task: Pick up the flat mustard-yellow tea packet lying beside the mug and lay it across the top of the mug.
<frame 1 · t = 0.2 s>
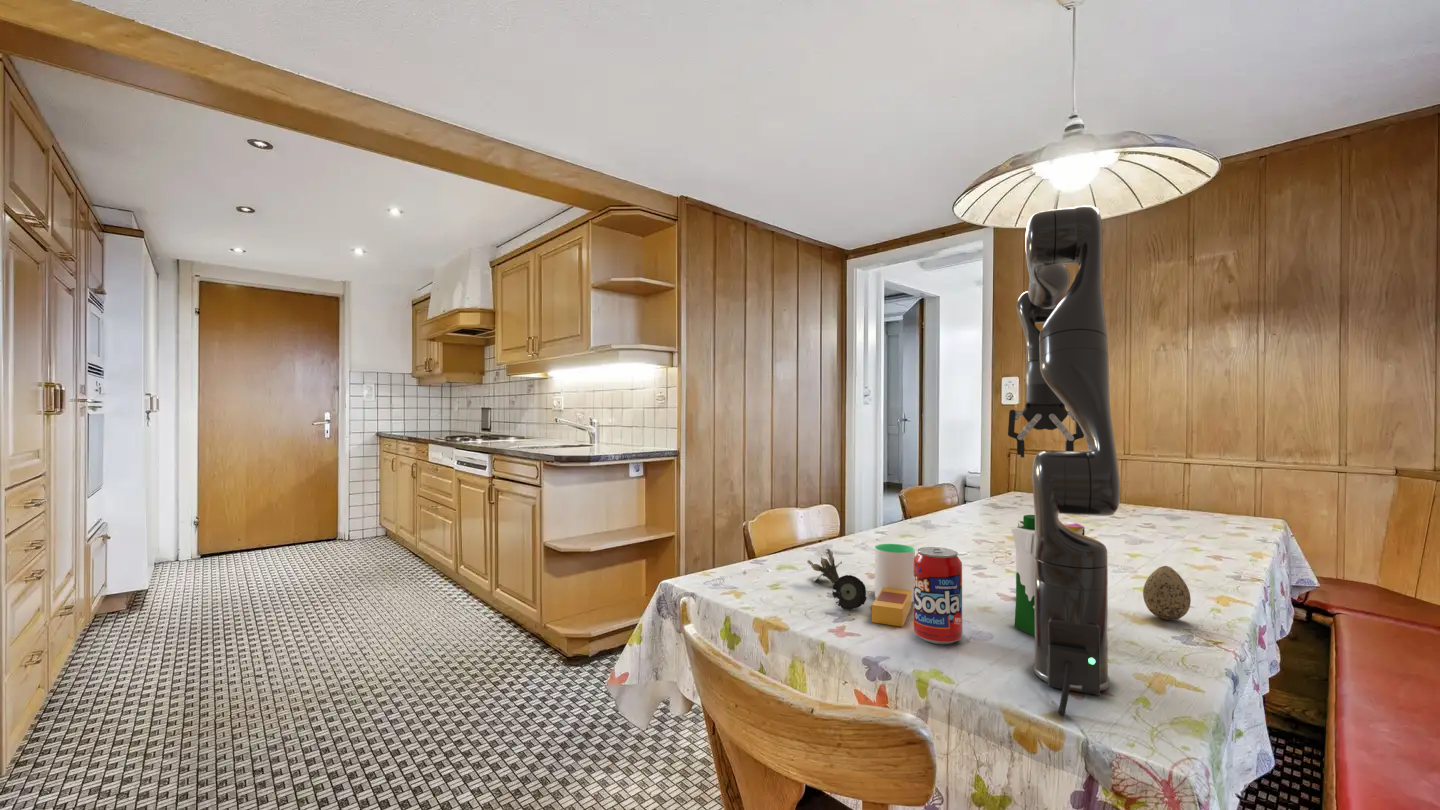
hand: (1044, 458, 127), 29 cm above the table, tool pointing down, fingers open, 8 cm apart
decorative egg: (1166, 620, 111), on the table
soda can: (937, 639, 102), on the table
tea packet: (892, 614, 114), on the table
candy bar box: (1050, 604, 120), on the table
milk carton: (1045, 633, 105), on the table
mug: (891, 596, 126), on the table
dark long pronged piece: (833, 593, 127), on the table
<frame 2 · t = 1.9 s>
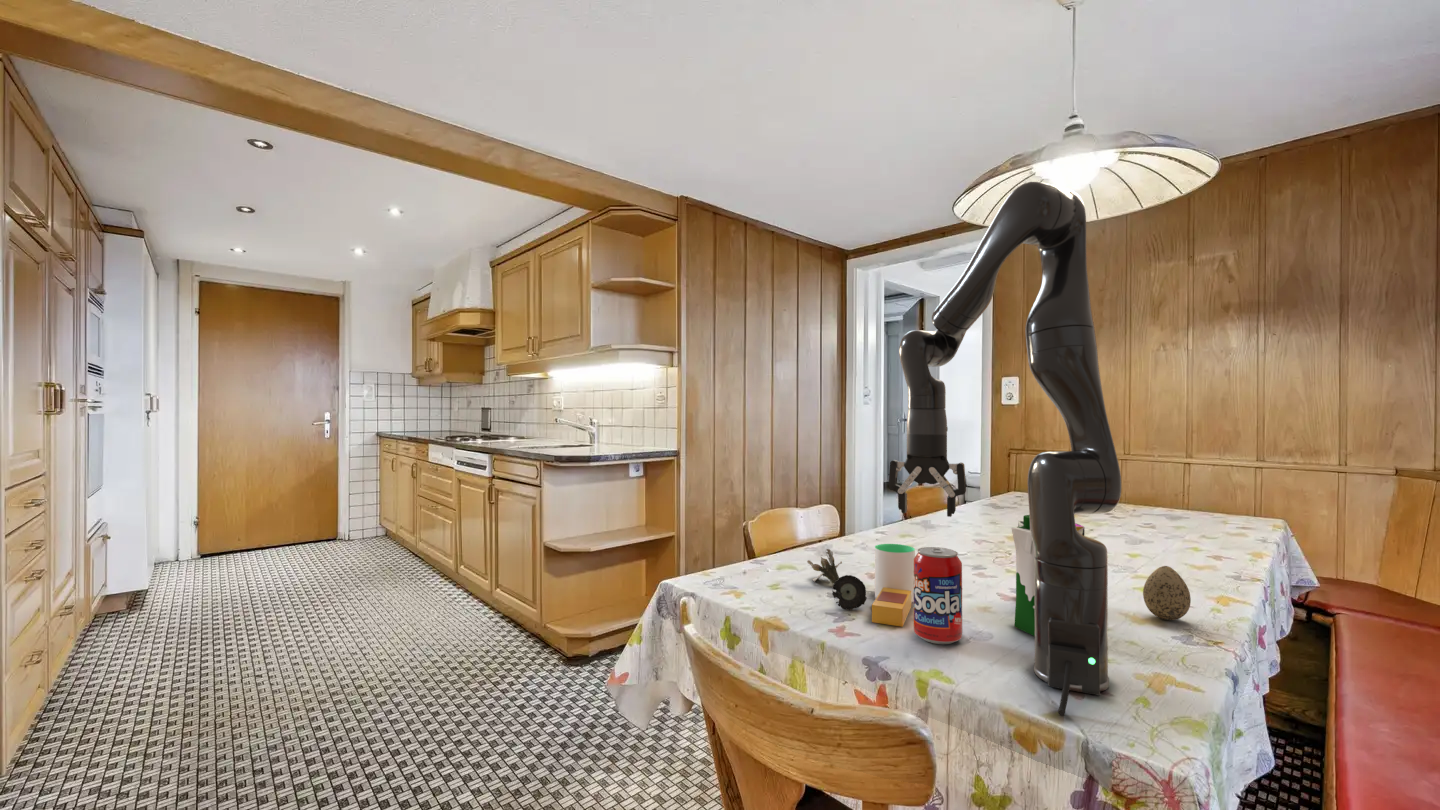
hand: (926, 514, 117), 19 cm above the table, tool pointing down, fingers open, 8 cm apart
nothing on the table moved.
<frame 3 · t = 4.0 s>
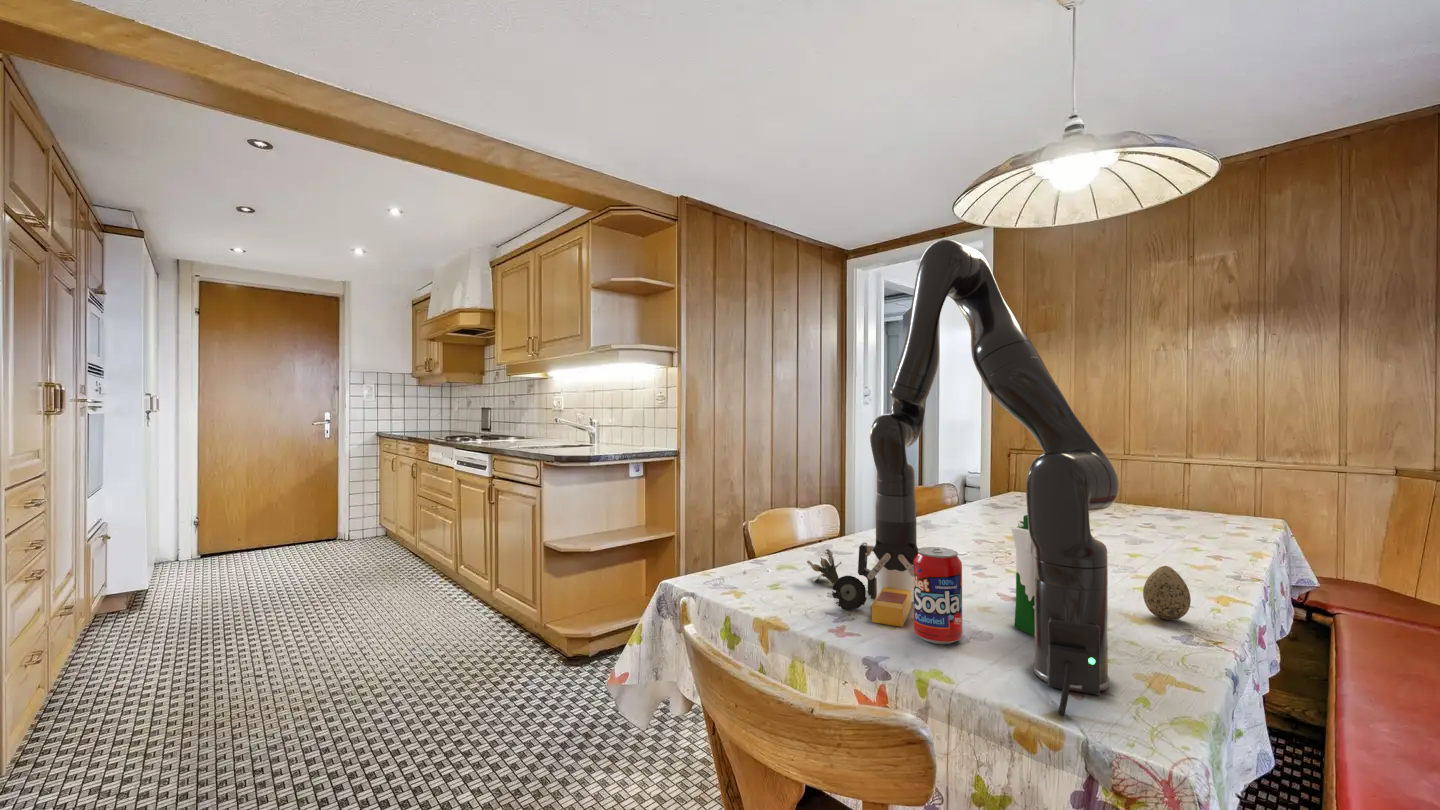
hand: (896, 600, 114), 2 cm above the table, tool pointing down, fingers open, 8 cm apart
dark long pronged piece: (833, 593, 127), on the table, touching gripper
everything else where it was.
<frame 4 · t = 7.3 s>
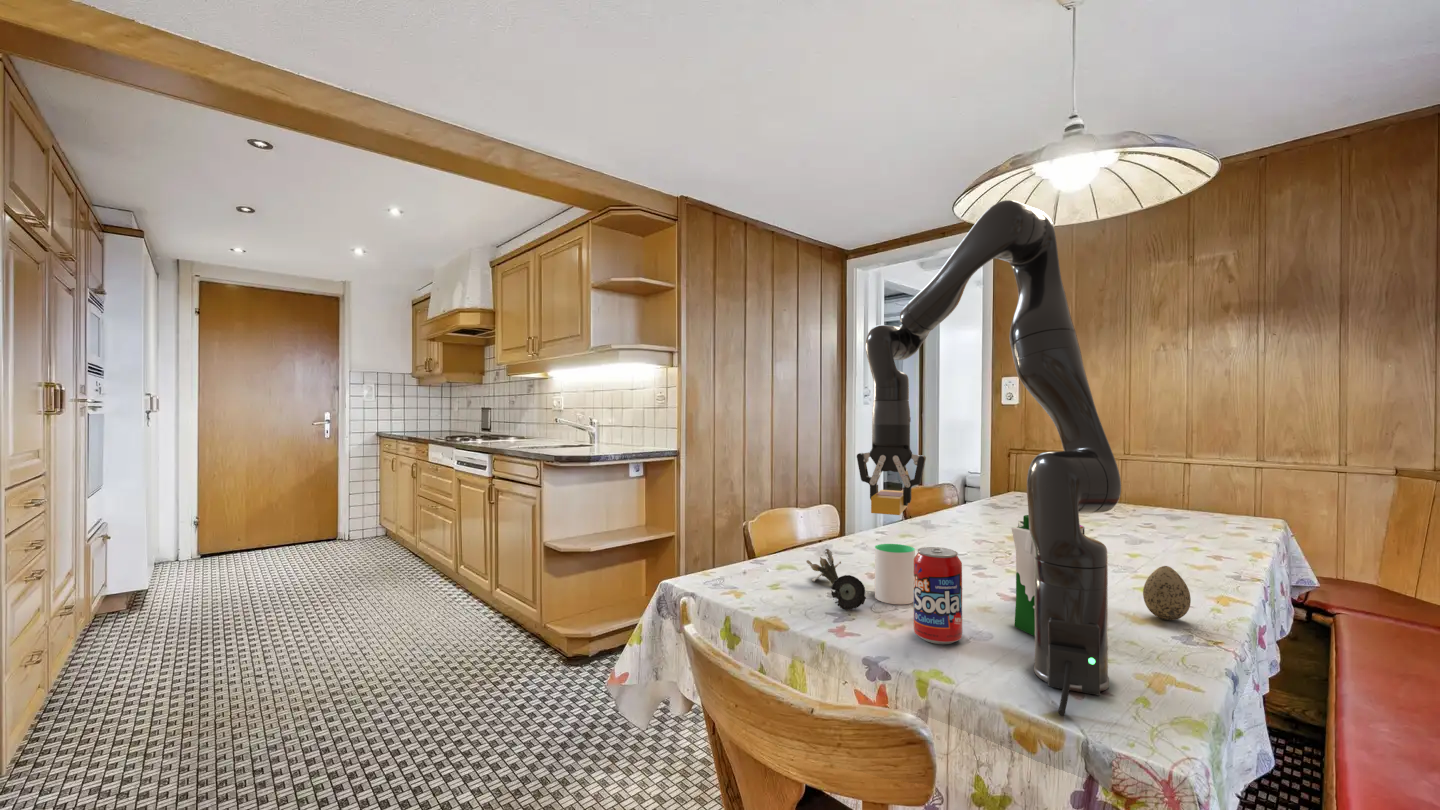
hand: (890, 503, 123), 20 cm above the table, tool pointing down, fingers closed on tea packet, 5 cm apart
tea packet: (889, 509, 122), point 19 cm above the table, touching gripper
dark long pronged piece: (832, 593, 127), on the table
everything else where it was.
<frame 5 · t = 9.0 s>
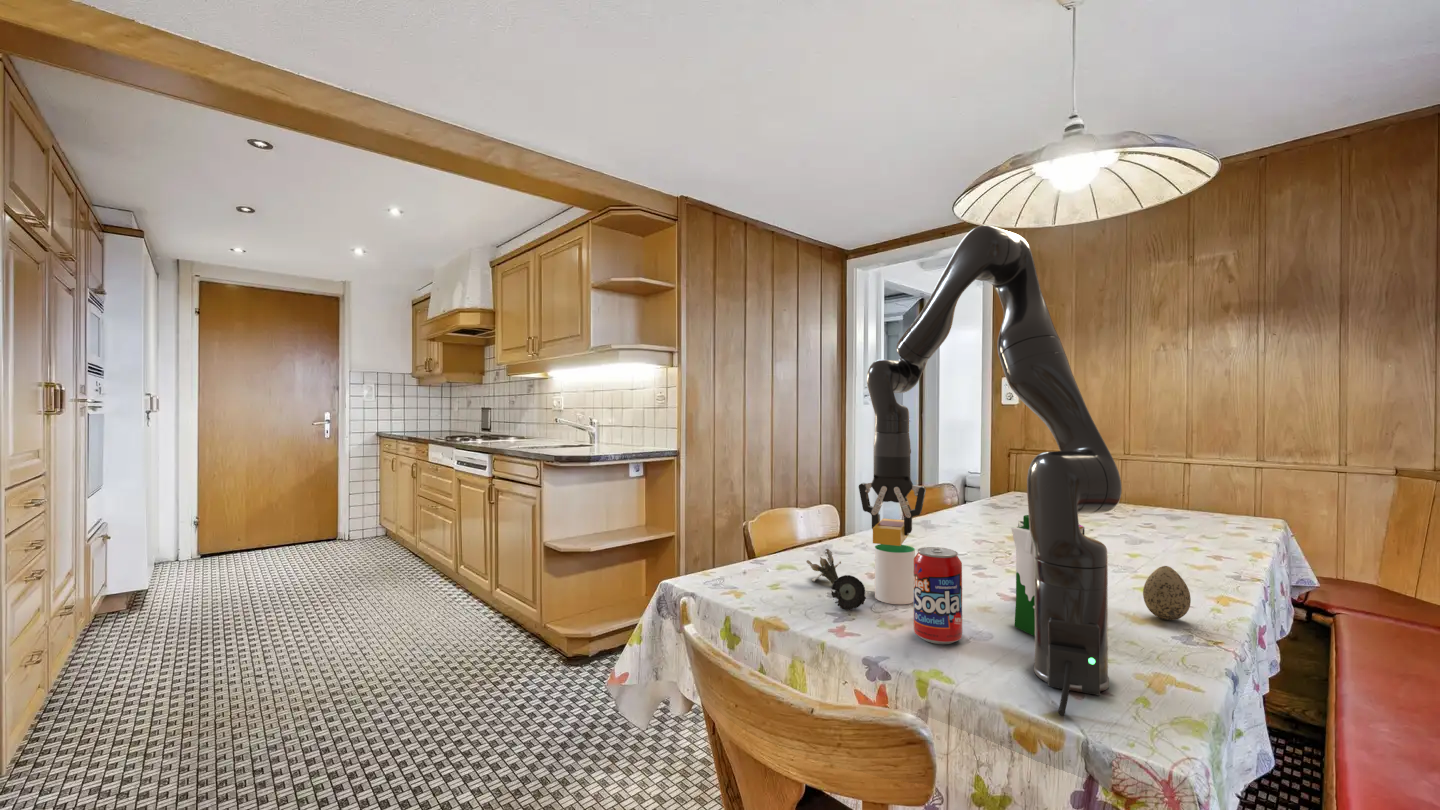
hand: (891, 533, 126), 13 cm above the table, tool pointing down, fingers closed on tea packet, 5 cm apart
tea packet: (891, 539, 125), point 12 cm above the table, touching gripper
everything else where it was.
when the fingers open (12 cm above the table, at t = 9.9 s): tea packet stays where it is, resting on mug.
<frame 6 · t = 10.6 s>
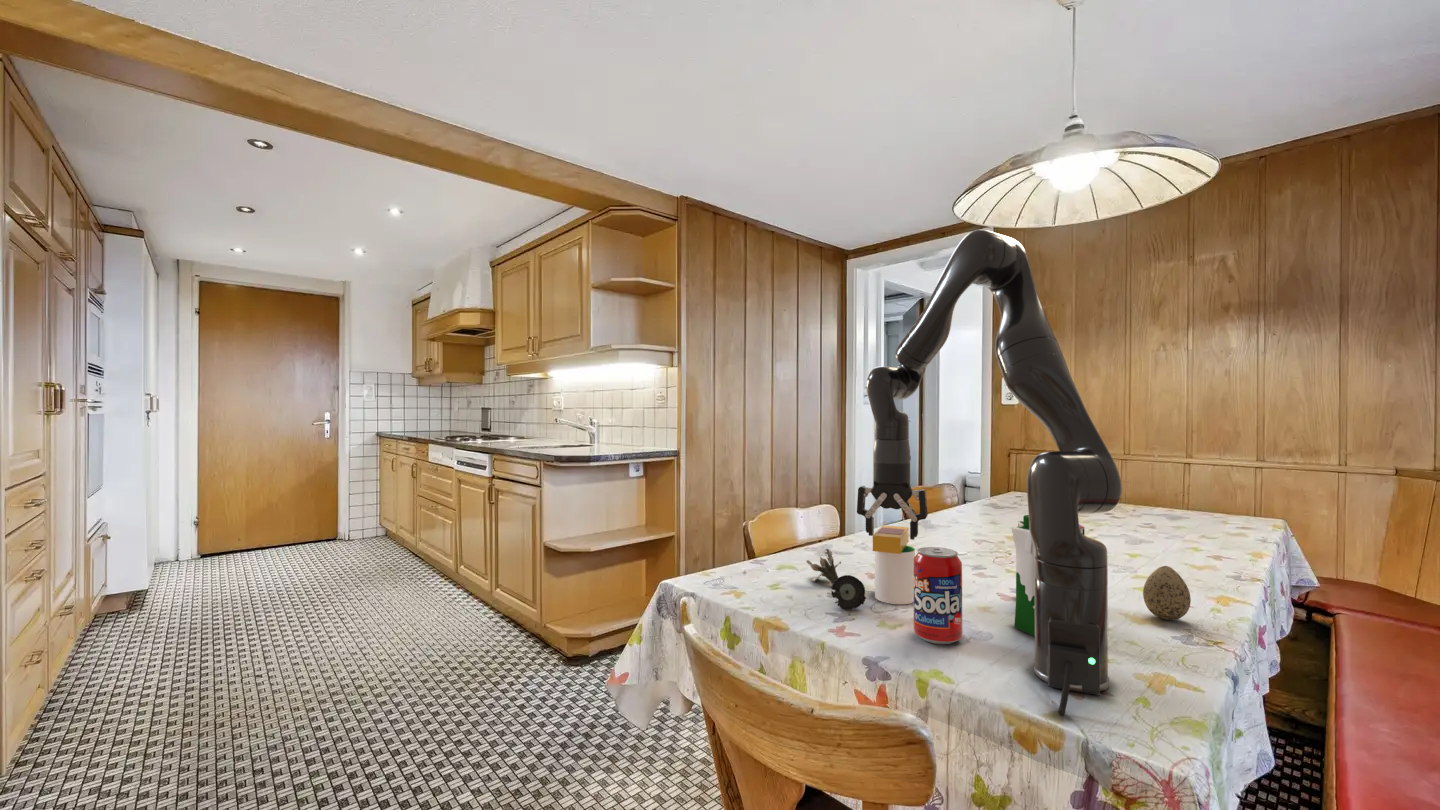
hand: (891, 537, 126), 12 cm above the table, tool pointing down, fingers open, 8 cm apart
tea packet: (891, 546, 125), point 10 cm above the table, touching mug
mug: (891, 596, 126), on the table, touching tea packet
everything else where it was.
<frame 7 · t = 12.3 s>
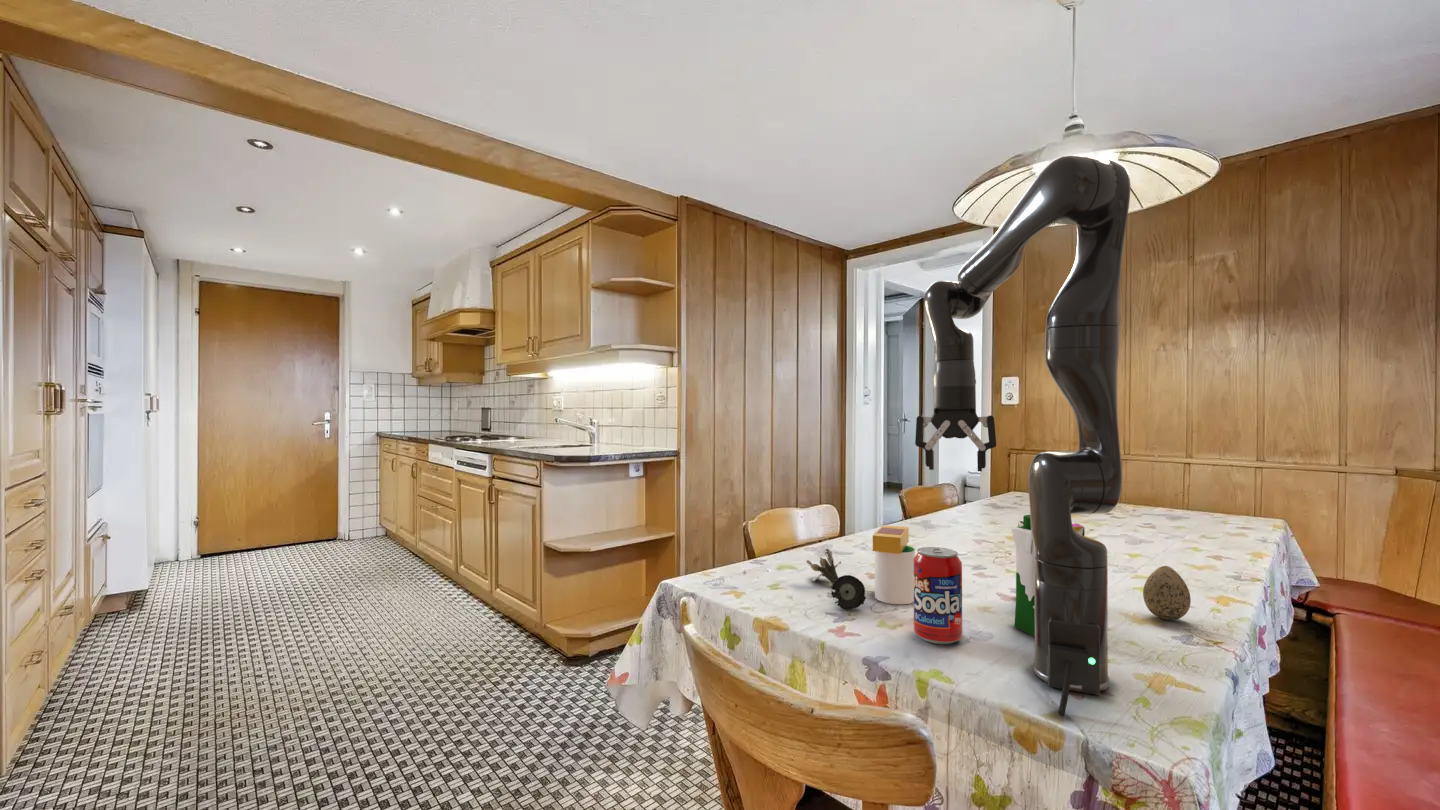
hand: (955, 470, 113), 28 cm above the table, tool pointing down, fingers open, 8 cm apart
nothing on the table moved.
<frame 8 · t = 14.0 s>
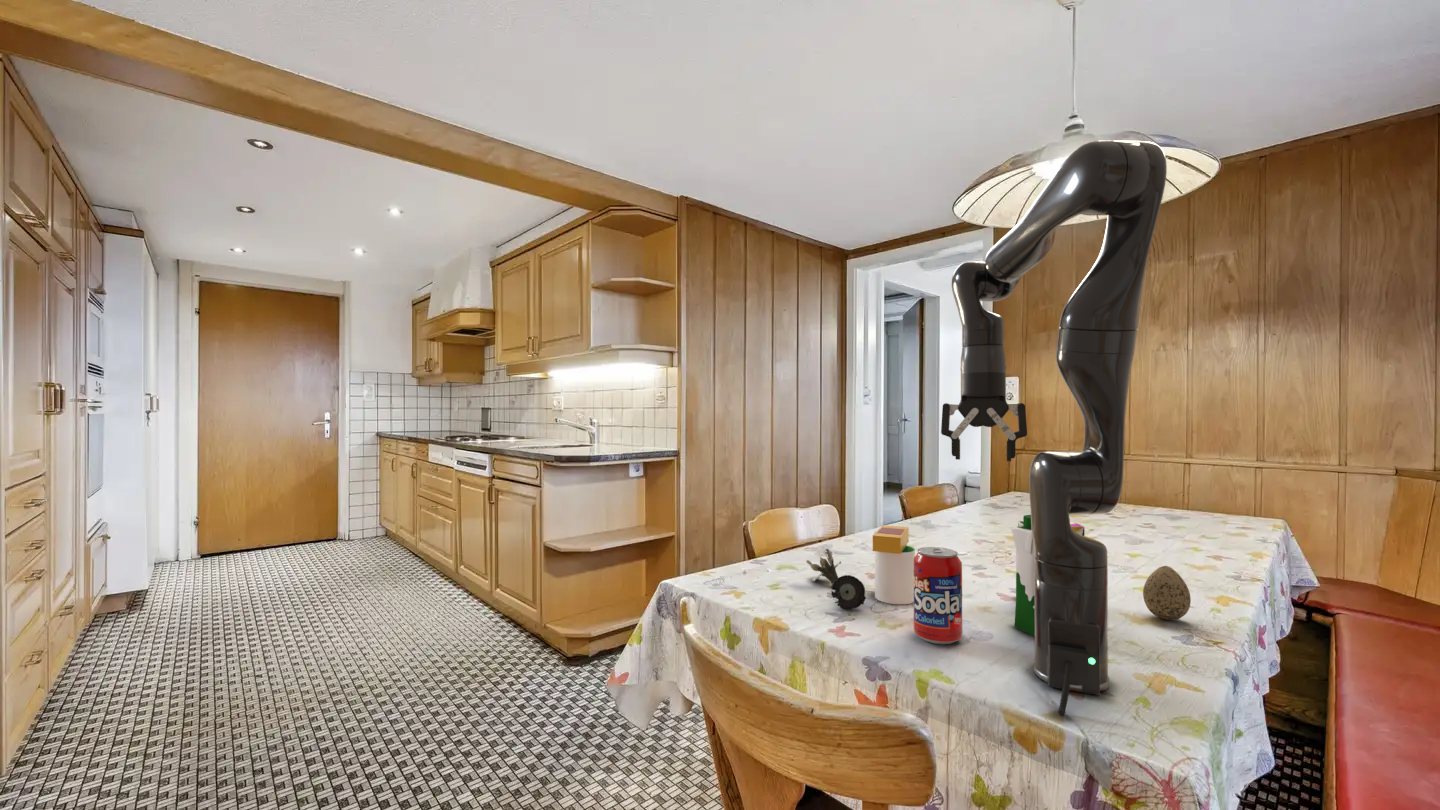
hand: (983, 460, 108), 30 cm above the table, tool pointing down, fingers open, 8 cm apart
nothing on the table moved.
at the end: tea packet inside the target area on the mug (0.5 cm from its centre), point 10.6 cm above the mug's base; tea packet touching mug; tea packet tilted 0° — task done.
